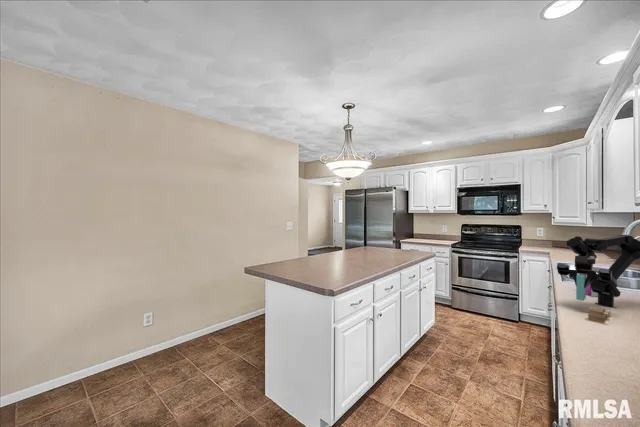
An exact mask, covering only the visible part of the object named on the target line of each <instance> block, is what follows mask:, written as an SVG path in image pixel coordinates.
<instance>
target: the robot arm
mask: <svg viewBox="0 0 640 427" xmlns="http://www.w3.org/2000/svg"><path fill="white" fill-rule="evenodd" d="M566 246H567V247H568V248H569V249H570V250H571V251H572V252H573V253H574V254H575V256H574V266H569V264H565V263H558V264H556V269H557V273H558V275H560V276H561V275H562V276H569V277H570V278H572V279H573V281H574V285H575V286H576V282H577V275H578V273H579V274H587V278H586V281H585V284H584V288H586V287H587V286H588V285H589V284H591V288H592V291H593V292H596V293H598V297H597V302H594V305H595V306H600V307H607V308H613V309H617V307H616V306H615V298H619V297H620V295H621V291H620V289H618V282H617V280H618V279H619V278H620V277H621V276H622V275H623V273H625V271H626V270H627V269H629V267H630V266H631V265H632V264H633V262H634V261H637V260H639V259H640V240H639V239H636V238H634V237H633V236H632V235H628V234H618V235H613V236H608V237H603V238H596V237H595V238H592V237H591V238H590V237H589V238H588V237H587V238H584V239H583V237H581V236H578V235H577V236H575V237H572V238H570V239H568V240H567V241H566ZM614 246H618V247H619V248H620V256H618V258H616V260H615V261H614V262H613V263H612V264H611V265H610V266H609V268H602V267H600V268H599V271H594V270H592V268H593V266H594V265H595V264H596V259H597V258H598V256H597V255H596V253H595V251H597V252H603V251H606V250H607V249H609V247H614Z"/></svg>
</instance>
